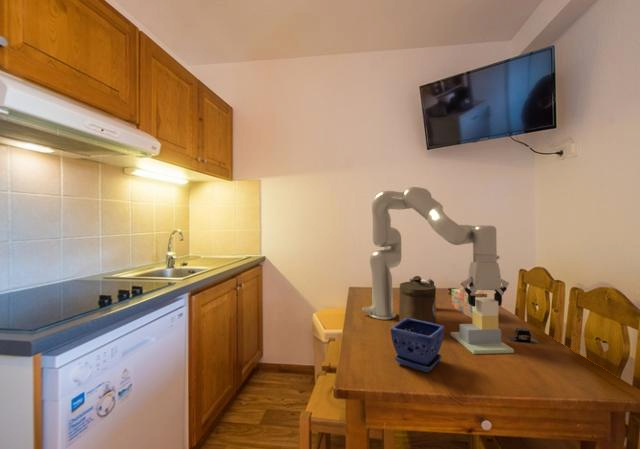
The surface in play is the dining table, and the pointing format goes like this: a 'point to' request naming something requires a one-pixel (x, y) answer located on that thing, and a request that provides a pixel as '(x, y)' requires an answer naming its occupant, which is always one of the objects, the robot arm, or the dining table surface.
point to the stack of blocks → (464, 300)
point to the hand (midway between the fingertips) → (484, 305)
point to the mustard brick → (485, 321)
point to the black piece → (522, 339)
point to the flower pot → (417, 343)
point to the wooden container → (417, 301)
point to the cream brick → (485, 306)
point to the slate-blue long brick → (479, 334)
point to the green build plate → (483, 346)
